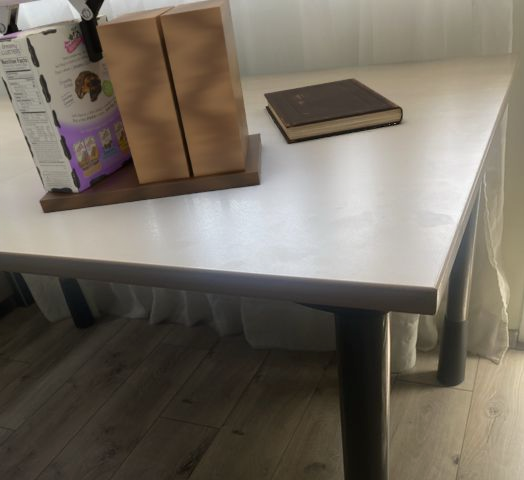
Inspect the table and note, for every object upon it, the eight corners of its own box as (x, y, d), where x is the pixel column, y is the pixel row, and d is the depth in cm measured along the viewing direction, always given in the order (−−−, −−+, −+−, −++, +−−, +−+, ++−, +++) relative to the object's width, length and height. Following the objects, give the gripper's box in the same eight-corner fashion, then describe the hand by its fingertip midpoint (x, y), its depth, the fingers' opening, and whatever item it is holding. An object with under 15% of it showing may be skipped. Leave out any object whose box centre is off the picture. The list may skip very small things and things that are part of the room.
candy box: (111, 154, 74) (70, 17, 64) (145, 154, 72) (108, 12, 62) (43, 192, 64) (-17, 37, 55) (80, 193, 62) (24, 32, 52)
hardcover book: (288, 143, 72) (286, 125, 71) (265, 108, 91) (264, 93, 89) (403, 123, 72) (403, 105, 71) (357, 92, 91) (357, 77, 90)
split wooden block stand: (43, 212, 63) (-24, 46, 53) (81, 169, 76) (33, 28, 66) (260, 184, 61) (234, 4, 50) (261, 144, 74) (241, -6, 63)
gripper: (-112, -129, 48) (-24, 83, 59) (72, -165, 47) (129, 59, 57) (-69, -120, 54) (4, 71, 65) (94, -151, 53) (142, 49, 63)
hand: (62, 65), depth 61 cm, fingers closed on candy box, 7 cm apart
